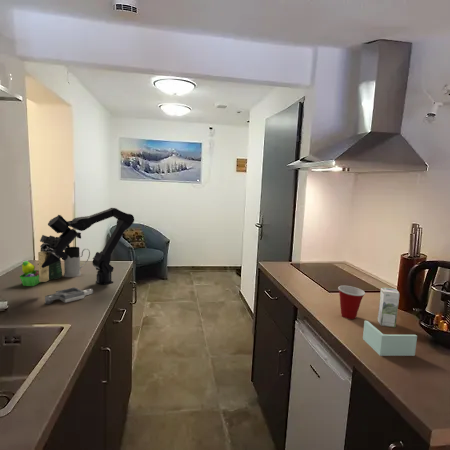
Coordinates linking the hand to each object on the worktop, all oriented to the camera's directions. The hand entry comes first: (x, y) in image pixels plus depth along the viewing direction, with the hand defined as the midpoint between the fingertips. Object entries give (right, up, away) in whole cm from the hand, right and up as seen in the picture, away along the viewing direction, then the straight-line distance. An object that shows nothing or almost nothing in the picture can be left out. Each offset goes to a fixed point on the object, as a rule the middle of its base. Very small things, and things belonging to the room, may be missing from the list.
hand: (40, 266), depth 153 cm
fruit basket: (-14, -11, +18) cm, 25 cm away
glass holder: (+1, -9, +37) cm, 38 cm away
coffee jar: (-9, -10, +29) cm, 32 cm away
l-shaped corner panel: (+139, -25, -34) cm, 145 cm away
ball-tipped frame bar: (+14, -14, 0) cm, 20 cm away
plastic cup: (+135, -20, -9) cm, 137 cm away
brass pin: (+1, -7, +2) cm, 7 cm away
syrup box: (+148, -22, -15) cm, 150 cm away
